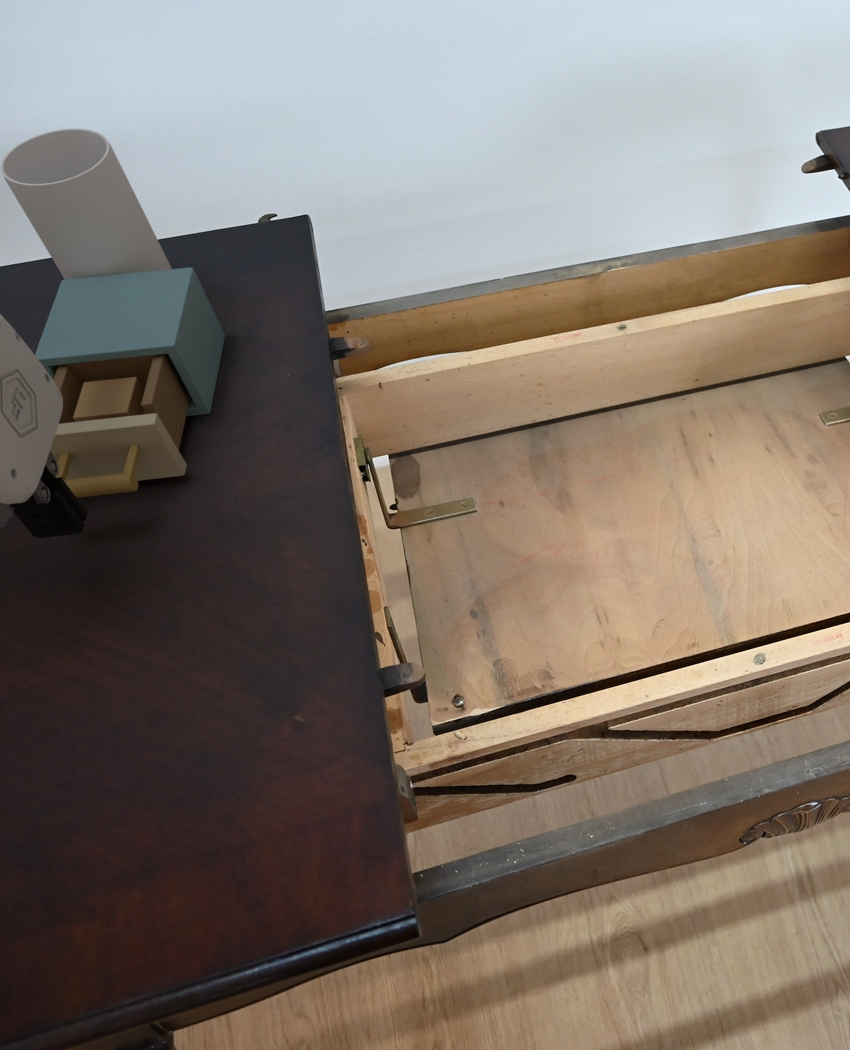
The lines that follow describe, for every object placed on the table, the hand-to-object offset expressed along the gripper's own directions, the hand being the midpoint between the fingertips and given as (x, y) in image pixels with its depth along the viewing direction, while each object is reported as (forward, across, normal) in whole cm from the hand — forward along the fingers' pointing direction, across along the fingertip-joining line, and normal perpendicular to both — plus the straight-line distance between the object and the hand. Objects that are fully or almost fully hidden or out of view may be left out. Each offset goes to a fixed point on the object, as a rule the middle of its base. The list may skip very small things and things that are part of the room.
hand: (62, 526), depth 71 cm
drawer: (+6, +12, 0) cm, 13 cm away
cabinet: (+7, +22, 0) cm, 23 cm away
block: (+5, +14, 0) cm, 14 cm away
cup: (+7, +31, +3) cm, 32 cm away
